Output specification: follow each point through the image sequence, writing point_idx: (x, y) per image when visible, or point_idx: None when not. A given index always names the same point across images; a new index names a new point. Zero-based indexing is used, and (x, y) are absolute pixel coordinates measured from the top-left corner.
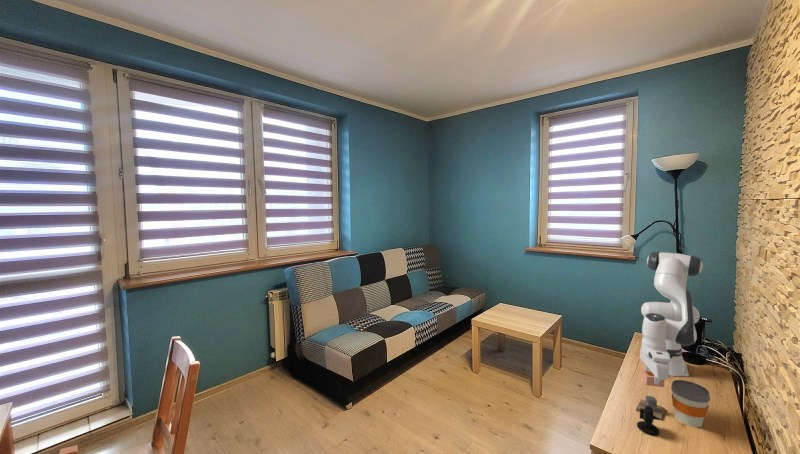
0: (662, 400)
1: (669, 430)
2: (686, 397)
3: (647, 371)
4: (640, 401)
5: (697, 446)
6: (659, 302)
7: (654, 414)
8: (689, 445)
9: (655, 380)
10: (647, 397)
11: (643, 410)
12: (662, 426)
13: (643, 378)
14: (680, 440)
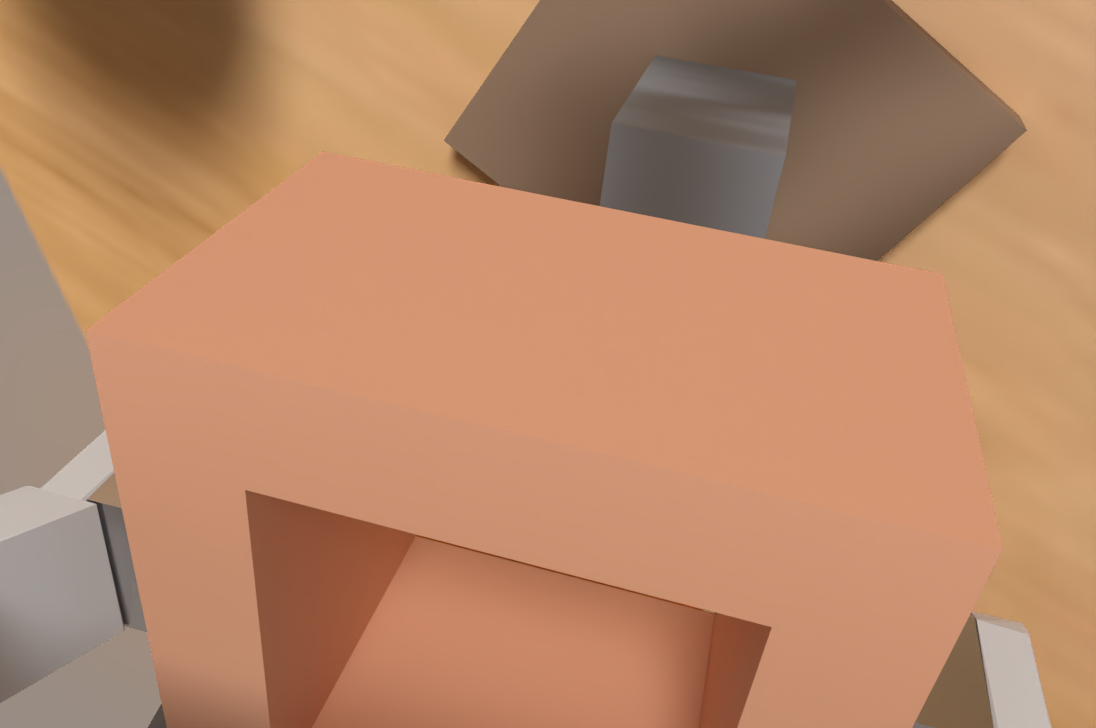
0: (1026, 488)
1: (243, 109)
2: (161, 710)
3: (743, 701)
4: (942, 61)
5: (56, 254)
6: None
7: (527, 92)
8: (31, 175)
9: (15, 504)
10: (697, 147)
11: None
12: (305, 60)
13: (590, 262)
14: (80, 126)
